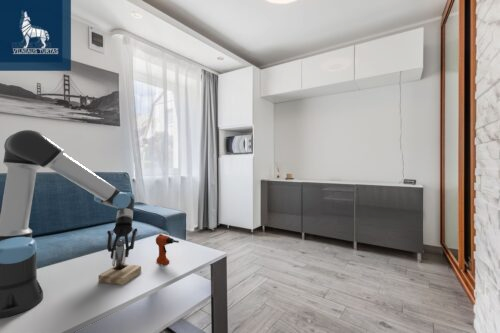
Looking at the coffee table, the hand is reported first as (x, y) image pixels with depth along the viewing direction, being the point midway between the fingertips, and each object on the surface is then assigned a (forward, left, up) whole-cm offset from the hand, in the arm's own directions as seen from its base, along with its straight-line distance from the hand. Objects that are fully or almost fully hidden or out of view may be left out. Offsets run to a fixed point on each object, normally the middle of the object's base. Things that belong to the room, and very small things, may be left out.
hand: (118, 264), depth 106 cm
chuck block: (+1, +1, -6) cm, 6 cm away
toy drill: (+15, +17, -6) cm, 23 cm away
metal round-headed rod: (-2, +3, -4) cm, 5 cm away
